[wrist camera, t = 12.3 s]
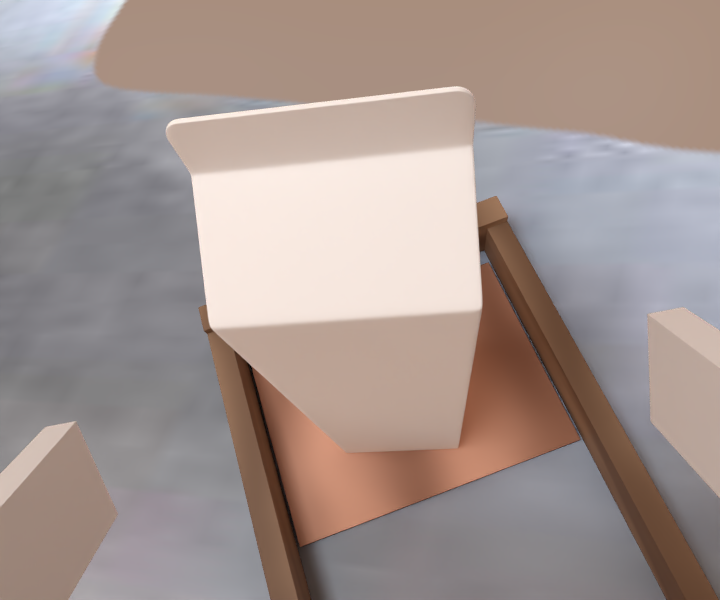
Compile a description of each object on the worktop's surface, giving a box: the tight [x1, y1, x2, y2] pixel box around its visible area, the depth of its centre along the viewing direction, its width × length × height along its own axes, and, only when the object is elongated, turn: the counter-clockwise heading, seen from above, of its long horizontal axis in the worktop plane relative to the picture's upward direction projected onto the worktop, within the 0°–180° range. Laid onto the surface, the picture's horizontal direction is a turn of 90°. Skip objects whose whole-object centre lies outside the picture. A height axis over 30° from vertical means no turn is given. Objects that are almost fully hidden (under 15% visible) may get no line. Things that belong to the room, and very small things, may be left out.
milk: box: [166, 86, 483, 453], centre depth 20 cm, size 6×6×22 cm
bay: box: [199, 196, 719, 600], centre depth 25 cm, size 18×32×3 cm, turn 19°
